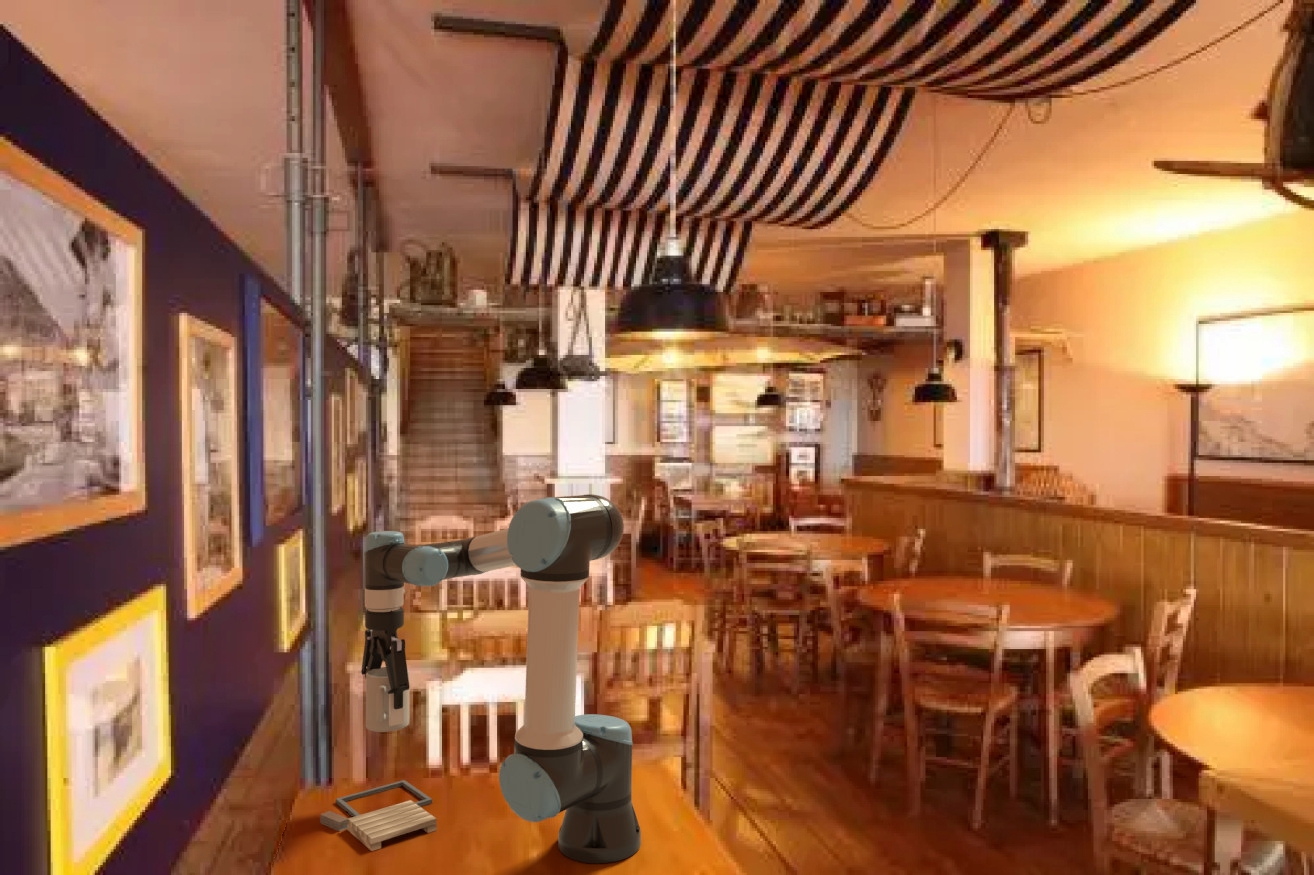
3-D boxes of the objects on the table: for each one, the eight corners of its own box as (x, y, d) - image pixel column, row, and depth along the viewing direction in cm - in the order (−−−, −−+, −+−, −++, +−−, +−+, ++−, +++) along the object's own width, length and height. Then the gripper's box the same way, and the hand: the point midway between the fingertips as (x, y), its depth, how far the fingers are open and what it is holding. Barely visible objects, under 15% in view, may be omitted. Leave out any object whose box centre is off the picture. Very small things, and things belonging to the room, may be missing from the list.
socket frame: (432, 803, 180) (432, 799, 180) (361, 824, 170) (361, 820, 170) (404, 783, 190) (404, 780, 190) (335, 802, 180) (335, 798, 180)
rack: (436, 830, 168) (436, 818, 168) (371, 851, 159) (371, 838, 159) (410, 810, 176) (410, 799, 176) (347, 829, 168) (347, 818, 168)
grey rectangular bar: (348, 829, 169) (348, 818, 169) (339, 833, 167) (339, 822, 167) (329, 820, 172) (329, 810, 172) (320, 824, 171) (320, 814, 170)
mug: (370, 719, 185) (370, 666, 185) (412, 717, 185) (412, 665, 185) (357, 739, 173) (357, 682, 173) (401, 737, 174) (401, 681, 173)
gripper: (427, 614, 173) (427, 727, 174) (378, 597, 190) (378, 700, 191) (391, 619, 168) (391, 736, 169) (344, 602, 185) (344, 708, 186)
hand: (384, 717), depth 180 cm, fingers closed on mug, 10 cm apart
